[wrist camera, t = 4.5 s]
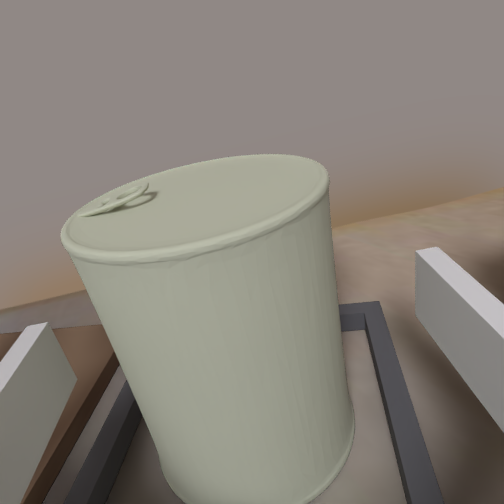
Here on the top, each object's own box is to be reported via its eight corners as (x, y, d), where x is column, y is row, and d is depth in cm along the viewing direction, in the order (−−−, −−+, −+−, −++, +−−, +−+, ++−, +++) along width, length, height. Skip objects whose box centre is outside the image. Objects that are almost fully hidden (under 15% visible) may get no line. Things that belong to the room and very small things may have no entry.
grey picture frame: (39, 597, 14) (24, 579, 13) (161, 335, 26) (156, 321, 25) (470, 615, 11) (473, 594, 11) (379, 317, 24) (379, 301, 23)
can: (175, 367, 23) (104, 168, 18) (331, 342, 22) (306, 129, 17) (138, 540, 15) (-15, 265, 10) (383, 507, 14) (365, 195, 9)
